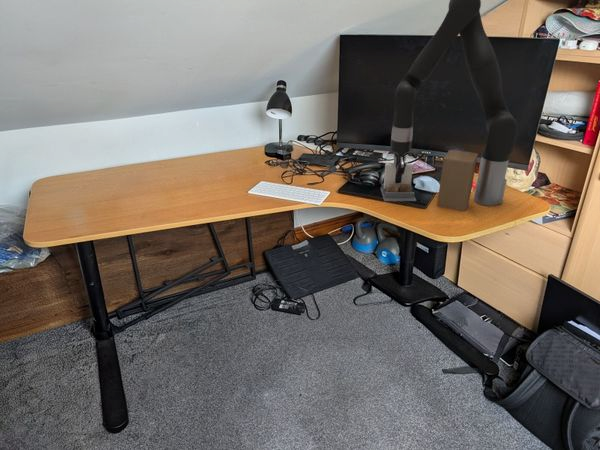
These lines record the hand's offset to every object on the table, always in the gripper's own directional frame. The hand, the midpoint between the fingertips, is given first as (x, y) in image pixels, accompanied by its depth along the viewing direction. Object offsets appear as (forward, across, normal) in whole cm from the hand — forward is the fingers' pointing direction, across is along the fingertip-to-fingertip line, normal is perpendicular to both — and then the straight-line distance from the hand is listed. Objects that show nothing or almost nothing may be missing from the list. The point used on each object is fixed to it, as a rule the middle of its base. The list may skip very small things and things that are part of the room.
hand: (397, 181), depth 176 cm
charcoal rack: (+6, -3, 0) cm, 6 cm away
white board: (+4, 0, 0) cm, 4 cm away
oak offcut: (+4, -4, +2) cm, 6 cm away
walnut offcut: (+4, -4, -2) cm, 6 cm away
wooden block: (+6, -11, -19) cm, 23 cm away
